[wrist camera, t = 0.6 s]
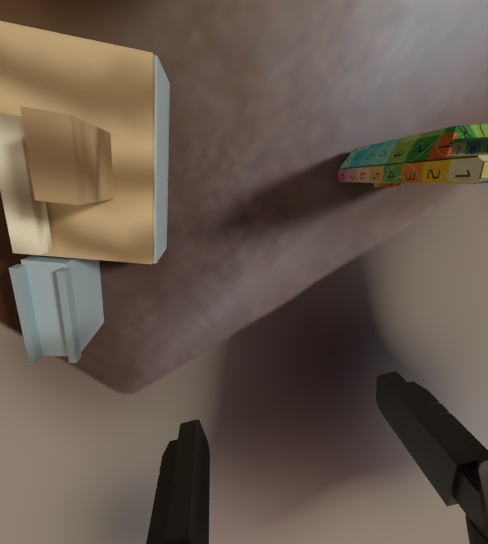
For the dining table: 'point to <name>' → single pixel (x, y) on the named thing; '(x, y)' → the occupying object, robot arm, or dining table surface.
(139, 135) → the lid
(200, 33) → the dining table surface
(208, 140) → the dining table surface
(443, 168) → the puzzle game
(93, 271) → the toolbox
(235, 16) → the dining table surface
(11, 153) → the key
